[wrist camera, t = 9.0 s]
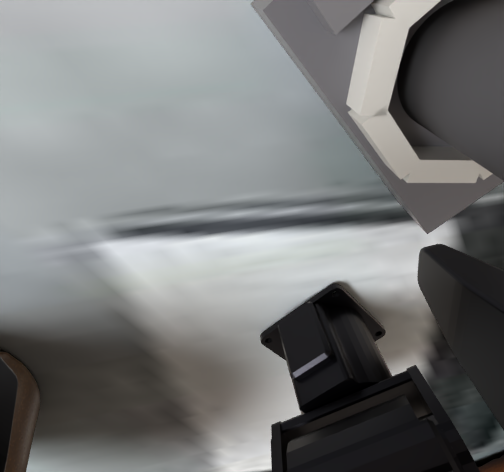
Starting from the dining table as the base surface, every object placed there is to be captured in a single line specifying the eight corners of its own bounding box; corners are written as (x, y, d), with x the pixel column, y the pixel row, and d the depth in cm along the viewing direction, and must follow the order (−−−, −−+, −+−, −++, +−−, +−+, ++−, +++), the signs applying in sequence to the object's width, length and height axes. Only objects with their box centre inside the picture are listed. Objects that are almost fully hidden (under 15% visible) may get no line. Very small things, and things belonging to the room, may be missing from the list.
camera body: (554, 92, 20) (640, 121, 16) (400, 204, 22) (443, 251, 18) (452, -203, 13) (557, -270, 9) (250, 3, 16) (270, 14, 12)
